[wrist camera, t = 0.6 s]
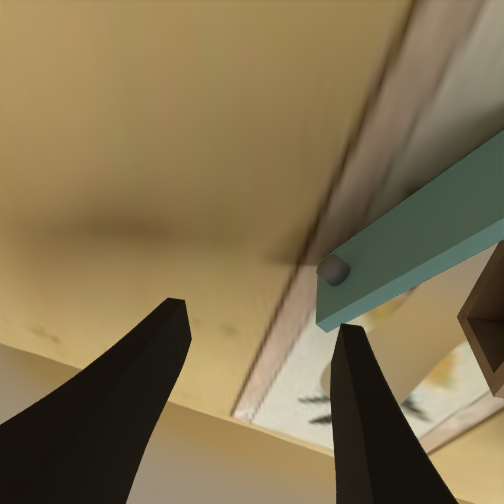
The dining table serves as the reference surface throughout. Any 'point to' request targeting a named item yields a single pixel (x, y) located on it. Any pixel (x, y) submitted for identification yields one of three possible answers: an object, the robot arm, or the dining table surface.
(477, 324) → the walnut cabinet
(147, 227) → the dining table surface
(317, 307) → the teal door
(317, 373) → the dining table surface
